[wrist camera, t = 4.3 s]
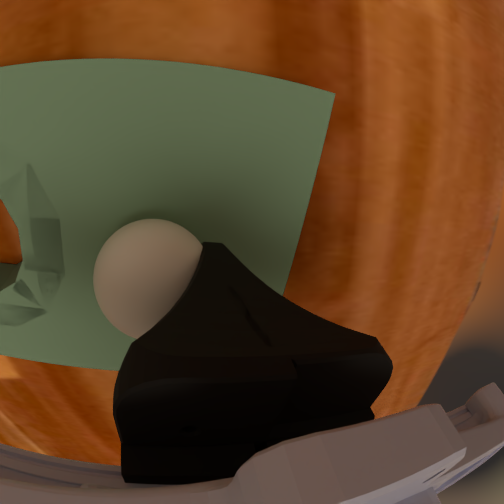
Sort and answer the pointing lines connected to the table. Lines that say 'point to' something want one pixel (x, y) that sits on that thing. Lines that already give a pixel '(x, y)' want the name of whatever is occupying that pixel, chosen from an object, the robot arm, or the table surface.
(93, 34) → the table surface
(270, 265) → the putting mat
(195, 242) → the ball
